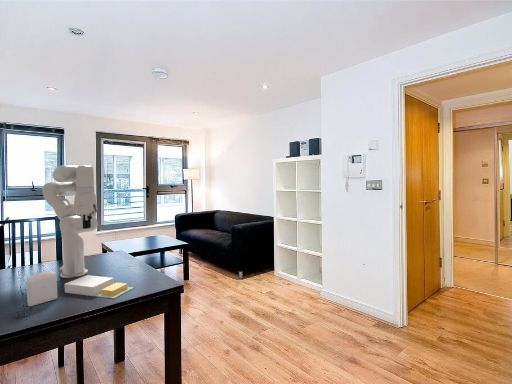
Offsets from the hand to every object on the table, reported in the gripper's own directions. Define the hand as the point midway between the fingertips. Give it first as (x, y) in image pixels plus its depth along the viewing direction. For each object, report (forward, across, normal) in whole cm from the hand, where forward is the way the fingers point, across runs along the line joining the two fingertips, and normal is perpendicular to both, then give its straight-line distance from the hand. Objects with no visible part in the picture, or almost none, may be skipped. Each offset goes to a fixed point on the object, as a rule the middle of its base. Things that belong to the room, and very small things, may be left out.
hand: (86, 228), depth 140 cm
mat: (+27, +22, -7) cm, 35 cm away
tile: (+25, +22, -7) cm, 33 cm away
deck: (+27, +8, -7) cm, 29 cm away
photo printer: (+27, 0, -23) cm, 36 cm away
